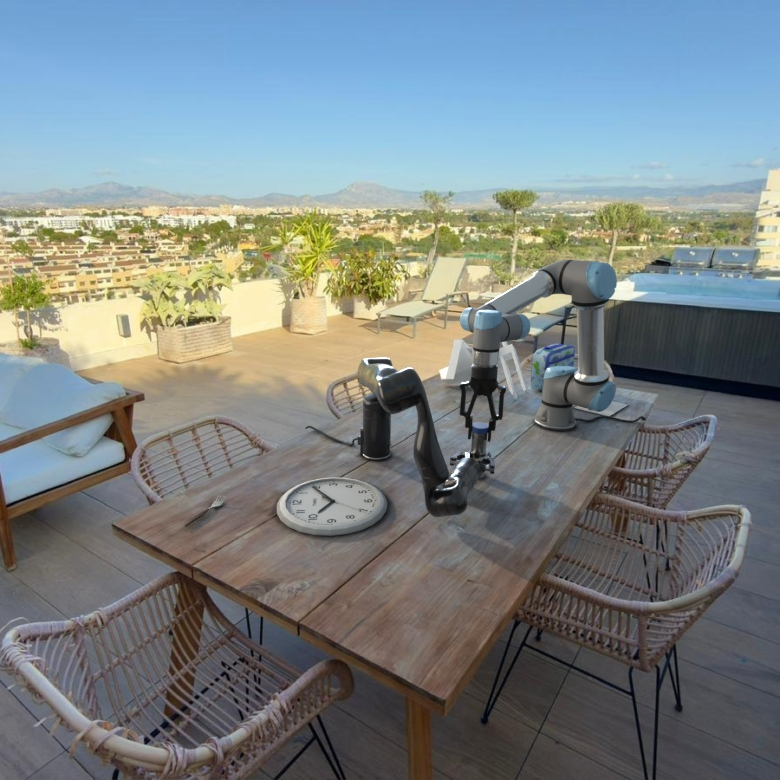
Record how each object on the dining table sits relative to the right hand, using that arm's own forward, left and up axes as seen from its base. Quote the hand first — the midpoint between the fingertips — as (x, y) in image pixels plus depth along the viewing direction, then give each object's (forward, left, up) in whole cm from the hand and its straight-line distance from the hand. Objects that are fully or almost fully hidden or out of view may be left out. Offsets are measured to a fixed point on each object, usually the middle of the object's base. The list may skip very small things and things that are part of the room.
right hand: (479, 438), depth 158 cm
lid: (0, 0, +4) cm, 4 cm away
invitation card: (-56, -75, -12) cm, 94 cm away
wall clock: (+40, +24, -12) cm, 48 cm away
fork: (+72, +33, -12) cm, 80 cm away
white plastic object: (-5, -87, -12) cm, 88 cm away
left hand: (-1, -3, -6) cm, 6 cm away
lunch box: (-39, -100, -12) cm, 108 cm away
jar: (0, 0, -12) cm, 12 cm away
